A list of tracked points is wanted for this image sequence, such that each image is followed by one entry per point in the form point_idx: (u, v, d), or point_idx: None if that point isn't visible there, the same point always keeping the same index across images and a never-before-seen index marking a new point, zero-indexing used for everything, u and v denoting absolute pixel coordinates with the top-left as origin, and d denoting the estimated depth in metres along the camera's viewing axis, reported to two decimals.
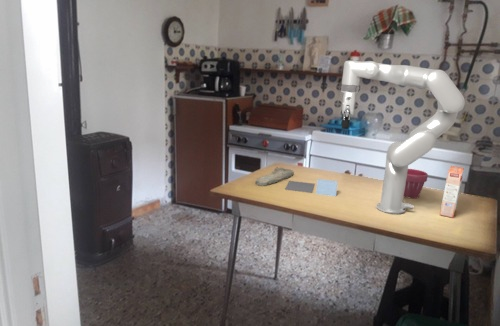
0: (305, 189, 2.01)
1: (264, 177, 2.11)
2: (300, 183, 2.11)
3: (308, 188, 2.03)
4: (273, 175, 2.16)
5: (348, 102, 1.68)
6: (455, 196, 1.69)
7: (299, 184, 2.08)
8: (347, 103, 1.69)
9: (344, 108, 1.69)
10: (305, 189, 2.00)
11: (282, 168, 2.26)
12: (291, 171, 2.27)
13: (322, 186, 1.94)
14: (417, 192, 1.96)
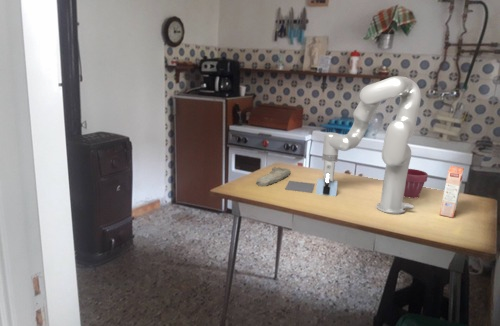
0: (305, 189, 2.01)
1: (264, 177, 2.11)
2: (300, 183, 2.11)
3: (308, 188, 2.03)
4: (272, 175, 2.16)
5: (328, 170, 1.89)
6: (455, 196, 1.69)
7: (299, 184, 2.08)
8: (327, 171, 1.89)
9: (325, 175, 1.89)
10: (305, 189, 2.00)
11: (279, 167, 2.27)
12: (288, 170, 2.29)
13: (322, 186, 1.94)
14: (417, 192, 1.96)
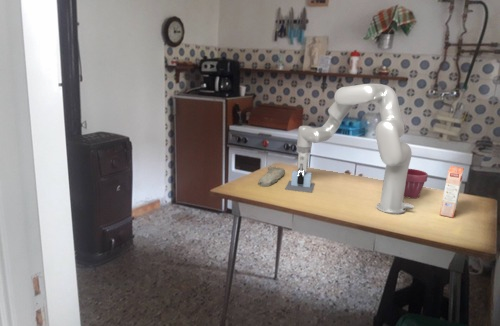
0: (305, 189, 2.01)
1: (264, 177, 2.11)
2: None
3: (308, 188, 2.03)
4: (271, 175, 2.16)
5: (302, 161, 2.00)
6: (455, 196, 1.69)
7: None
8: (301, 162, 2.00)
9: (298, 166, 2.01)
10: (305, 189, 2.00)
11: (275, 167, 2.28)
12: (282, 169, 2.31)
13: (297, 177, 2.05)
14: (417, 192, 1.96)
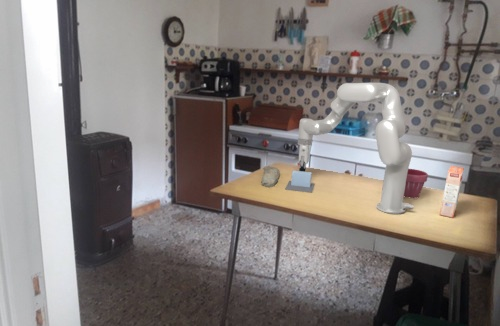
0: (305, 189, 2.01)
1: (266, 178, 2.10)
2: None
3: (308, 188, 2.03)
4: (270, 174, 2.17)
5: (303, 153, 2.02)
6: (455, 196, 1.69)
7: None
8: (302, 154, 2.02)
9: (299, 158, 2.03)
10: (305, 189, 2.00)
11: (269, 166, 2.28)
12: (276, 168, 2.32)
13: (297, 178, 2.05)
14: (417, 192, 1.96)
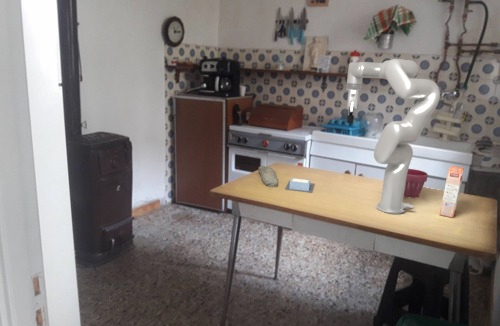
0: None
1: (267, 178, 2.10)
2: None
3: None
4: (268, 174, 2.17)
5: (352, 98, 1.94)
6: (455, 196, 1.69)
7: None
8: (351, 99, 1.94)
9: (349, 103, 1.95)
10: None
11: (264, 166, 2.28)
12: (269, 168, 2.33)
13: None
14: (417, 192, 1.96)
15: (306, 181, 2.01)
